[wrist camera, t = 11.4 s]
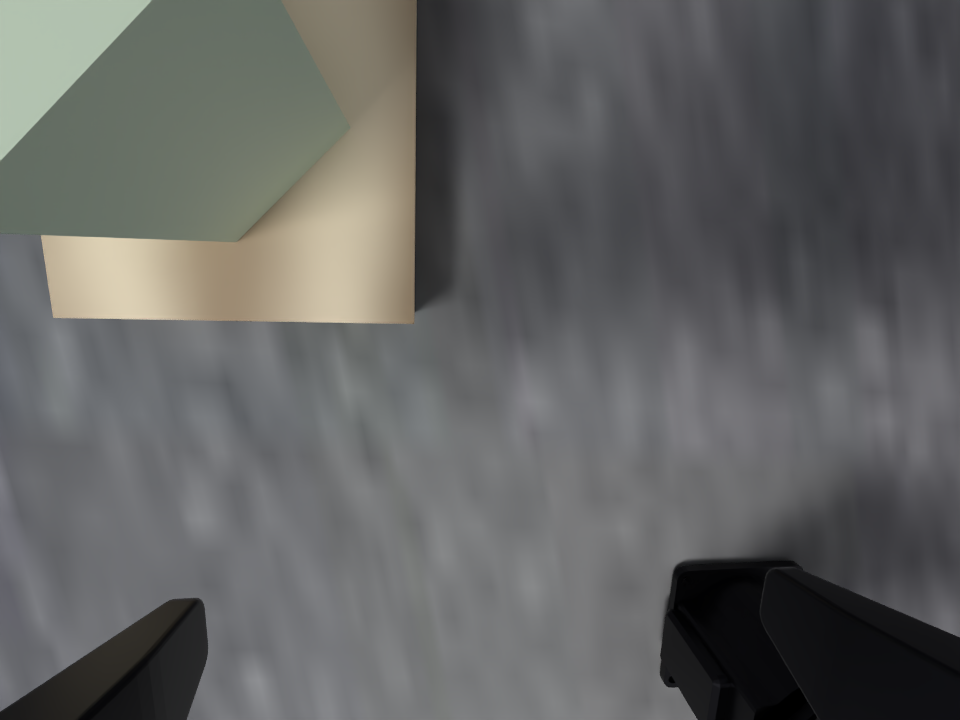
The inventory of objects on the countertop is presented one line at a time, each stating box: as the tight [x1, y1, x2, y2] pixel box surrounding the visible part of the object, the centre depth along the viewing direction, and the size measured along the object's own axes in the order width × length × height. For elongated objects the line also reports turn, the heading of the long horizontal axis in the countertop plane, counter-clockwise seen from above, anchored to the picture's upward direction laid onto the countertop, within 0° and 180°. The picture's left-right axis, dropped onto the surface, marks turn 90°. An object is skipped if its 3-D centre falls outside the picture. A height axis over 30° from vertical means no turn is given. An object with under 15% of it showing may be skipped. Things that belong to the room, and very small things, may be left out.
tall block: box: [0, 0, 350, 242], centre depth 10 cm, size 5×5×10 cm
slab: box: [41, 0, 417, 324], centre depth 16 cm, size 11×12×3 cm
